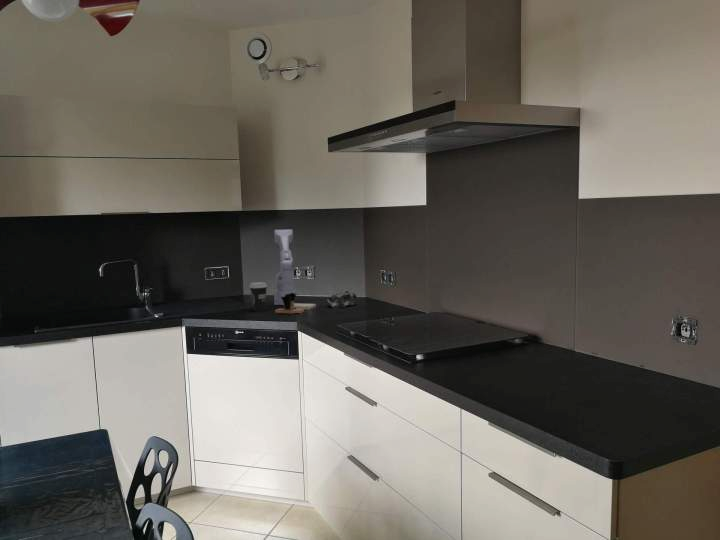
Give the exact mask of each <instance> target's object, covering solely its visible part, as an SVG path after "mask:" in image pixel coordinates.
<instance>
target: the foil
mask: <svg viewBox="0 0 720 540" xmlns="http://www.w3.org/2000/svg"><path fill="white" fill-rule="evenodd" d="M339 292H340V293H338V294H337V293H336V294H333V295H331V296H330V297H329V298H327V299H326V302H327V305H328V307H331V308H332V309H334V308H333V307H341V309H342V307H343V308H345V307H346V306H353V305H354V304H355V303H354V300H357V298H358V297H357V295H356V293H355V292H353V293H350V292H349V291H348V290H346V291H344V292H342V291H339ZM338 296H339V297H338Z"/></svg>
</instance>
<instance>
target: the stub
mask: <svg viewBox="0 0 720 540" xmlns="http://www.w3.org/2000/svg"><path fill="white" fill-rule="evenodd" d="M294 302H295V300H294V301H290V309H285V305H283V306H284V307H283V308H277V309H275V310H274V312H275V314H294V313H300V314H302V312H303V313H304V312H305V309H294Z"/></svg>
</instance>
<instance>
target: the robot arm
mask: <svg viewBox="0 0 720 540" xmlns="http://www.w3.org/2000/svg"><path fill="white" fill-rule="evenodd" d="M293 232H294V231H293V229H291V228H290V229H275V230H274V234H273V235H274V242H275V244H278V246H279V265H280V271H279V272H278V273H277V274H276V275H275V287H276V288H275V289H274V292H273V297H274V298H273V299H274V300H273V302H274V304H273V305H278V306H279V305H280V306H284V305H285V309H290V301H294V303H296V302H295V299H296V296H297V294H296V293H297V289H296V288H295V287H294V286H295V285H294V269H295V263H294V259H293V254H292V251H291V250H290V247H289V246H290V244H291V243H292V242H293V239H294V234H293Z"/></svg>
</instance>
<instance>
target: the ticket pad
mask: <svg viewBox="0 0 720 540" xmlns="http://www.w3.org/2000/svg"><path fill="white" fill-rule="evenodd" d="M315 306H316V307H317V304H316V303H300V302H299V303H296V302H295V303H294V308H296V309H304V310H309V309H310V310H312V309H314V308H316V307H315ZM313 307H314V308H313ZM311 308H312V309H311Z"/></svg>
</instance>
